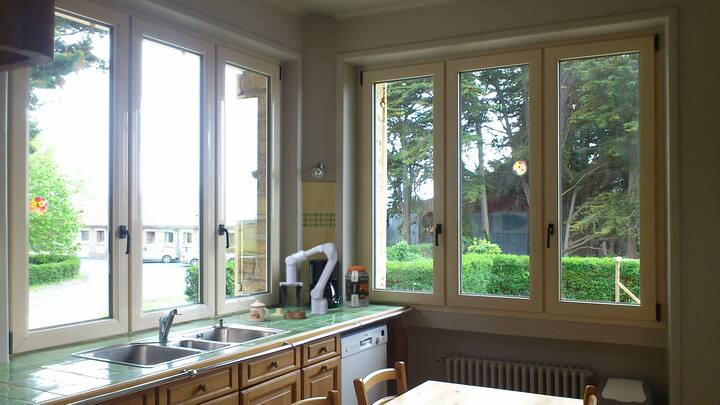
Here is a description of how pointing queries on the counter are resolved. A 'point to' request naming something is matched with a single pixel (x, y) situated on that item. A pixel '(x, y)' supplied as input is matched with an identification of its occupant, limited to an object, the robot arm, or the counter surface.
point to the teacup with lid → (258, 312)
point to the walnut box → (295, 314)
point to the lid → (278, 313)
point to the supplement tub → (357, 287)
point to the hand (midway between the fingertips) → (291, 297)
